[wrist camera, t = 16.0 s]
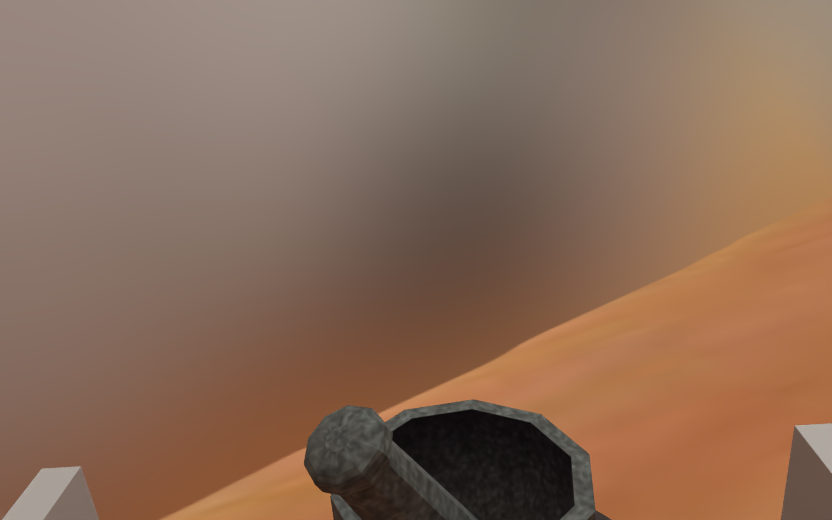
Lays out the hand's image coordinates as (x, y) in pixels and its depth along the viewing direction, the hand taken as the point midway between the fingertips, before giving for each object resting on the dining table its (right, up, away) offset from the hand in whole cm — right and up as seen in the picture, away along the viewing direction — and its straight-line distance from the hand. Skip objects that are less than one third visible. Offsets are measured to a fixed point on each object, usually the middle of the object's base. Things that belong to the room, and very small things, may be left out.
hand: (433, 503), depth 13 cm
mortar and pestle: (+1, -10, +15) cm, 18 cm away
